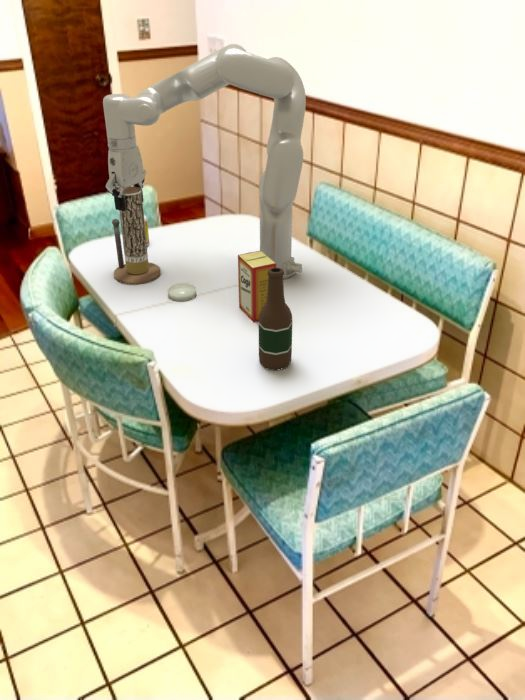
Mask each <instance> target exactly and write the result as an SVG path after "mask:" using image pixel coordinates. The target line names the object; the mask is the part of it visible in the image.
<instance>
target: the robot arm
mask: <svg viewBox="0 0 525 700" xmlns="http://www.w3.org/2000/svg"><path fill="white" fill-rule="evenodd" d="M230 85H232V86H234V87H237V88H239V89H242V90H245V91H248V92H251V93H255V94H258V95H261V96H264V97H268V98H272V99H273V111H272V119H271V120H272V121H271V125H270V130H269V136H268V140H267V143H266V155H267V158H266V167H265V170H264V171H263V172H262V174H261V176H260V178H259V181H258V194H259V195H258V196H259V251H261V252H263V253H264V254H265V255H266V256H267V257H269V258H270V259H271V260H272V261H274V262H275V263H276V268H281V269H282V270H284V275H283V280H285V279H288V278H290V277H292V276H294V275H296V273H298V274H302V272H303V264H302V263H300V262H299V263H298V262H295V257H294V256H292V247H293V246H292V241H293V240H292V239H293V238H292V237H293V234H292V233H293V204H294V202H295V200H296V196H297V194H298V188H299V183H300V179H301V172H302V168H303V163H304V149H303V146H302V142H301V139H302V134H303V133H302V132H303V127H304V122H305V121H304V120H305V115H306V105H307V101H306V100H307V99H306V89H305V86H304V83H303V80H302V78H301V76H300V74H299V72H298V71H297V70H296V68H295V67H294V66H293V65H291V63H290V62H288V61H287V60H286V59H284V58H283V57H278V56H276V57H275V56H272V57H270V58H265V57H263V56H259V55H257V54H254V53H251V52H248V51H247V49H245V48H244V47H243V46H242V45H239V44H236V43H232V44H227V45H226V46H223V47H222V48H220V49H217V50H216V51H215V52H212V53H211V54H208V55H206V56H205V57H204V58H203V57H202V58H201V59H199V60H197V61H196V62H194V63H192V64H190V65H188V66H186V67H185V68H182V69H181V70H179V71H177V72H176V73H174V74H172V75H169V76H167V77H165V78H164V79H162V80H160V81H158V82H156V83H154V84H153V85H151V86H149V87H147V88H145V89H143V90H142V91H140V92H139V94H137V96H134V97H131V96H129V95H127V94H124V93H112V94H107V95H105V96H104V97H103V99H102V100H103V101H102V107H103V114H104V121H105V129H106V137H107V147H108V154H107V156H108V157H107V165H108V175H109V179H108V180H107V182H106V184H105V188H106V189H107V191H108V192H109V194H110V195H111V196H112V197H113V201H114V207H115V208H114V209H115V210H116V211H119V210H120V211H125V201H124V197H122V194H123V190H124V188H128V187H130V186H133V187H139V188H141V191H142V200H143V201H144V194H143V193H144V192H143V188H144V183H145V178H146V174H147V170H145V169H144V165H143V163H144V162H143V159H142V154H141V151H140V148H139V145H138V144H137V138H136V137H137V136H136V129H135V127H136V126H142V127H143V126H144V127H145V126H146V127H147V126H149V127H150V126H152V125H154V124H156V123H157V122H158V120H159V119H160V117H161V115H162V114H163V113H165V112H167V111H169V110H171V109H173V108H175V107H177V106H178V105H181V104H183V103H186V102H187V103H188V102H192V101H193V102H195V101H200V100H202V99H205V98H206V97H208V96H210V95H212V94H213V93H215V92H218V91H219V90H221V89H223V88H225V87H228V86H230ZM135 125H136V126H135ZM118 189H119V192H118V191H117V190H118ZM120 211H119V212H120Z"/></svg>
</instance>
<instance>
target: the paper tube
mask: <svg viewBox="0 0 525 700" xmlns="http://www.w3.org/2000/svg"><path fill="white" fill-rule="evenodd" d="M117 191H118V192H119V188H117ZM142 191H143V190H142ZM142 191H141V188H139V187H134V186H130V187H128V188H124V190H123V194H122V197H124V201H125V211H120V210H118V211H119V217H120V218H119V221H120V229H121V237H122V243H123V244H122V245H123V253H124V255H123V256H124V264H126V270H127V272H128V273H130V274H134V275H139V274H143V273H146V272H147V271H148V269H149V265H148V262H149V255H148V254H149V253H148V246H147V243H146V232H145V221H144V215H145V211H144V199H143V200H142Z"/></svg>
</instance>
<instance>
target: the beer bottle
mask: <svg viewBox="0 0 525 700" xmlns="http://www.w3.org/2000/svg"><path fill="white" fill-rule="evenodd" d="M267 275H268V276H269V277H268V292H267V300H266V304H265V305H264V306H263V308H262V309H261V312H260V314H259V321H258V362H259V363H260V364H261V365H262V367H263V368H264V369H266V368H268V369H267V370H271V369H274V370H273V371H279V370H278V369H280V370H282V369H281V368H284V369H286V368H285V367H287V368H288V366H289V365H290V363H291V361H292V357H293V356H292V354H293V353H292V351H293V349H292V348H293V314H292V311H291V308H290V307H289V305H287V303H286V300H285V287H284V279H283V275H284V270H282V269H281V268H276V267H275V268H270V269H269V270H268V273H267Z"/></svg>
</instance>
